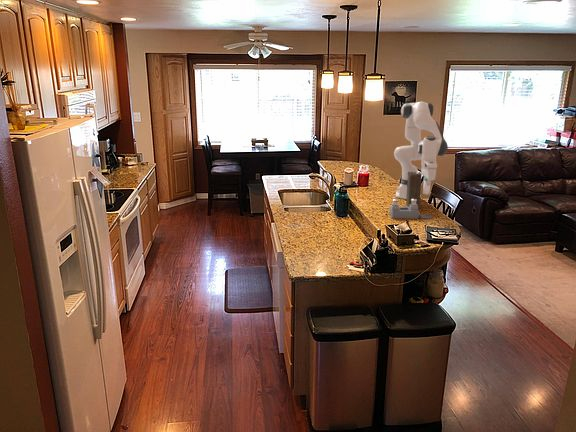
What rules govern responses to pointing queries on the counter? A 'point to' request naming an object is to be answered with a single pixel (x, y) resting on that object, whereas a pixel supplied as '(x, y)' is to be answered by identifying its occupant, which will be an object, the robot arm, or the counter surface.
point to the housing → (404, 212)
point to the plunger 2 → (413, 202)
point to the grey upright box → (413, 188)
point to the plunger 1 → (395, 202)
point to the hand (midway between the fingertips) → (427, 184)
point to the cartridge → (426, 187)
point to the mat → (425, 217)
